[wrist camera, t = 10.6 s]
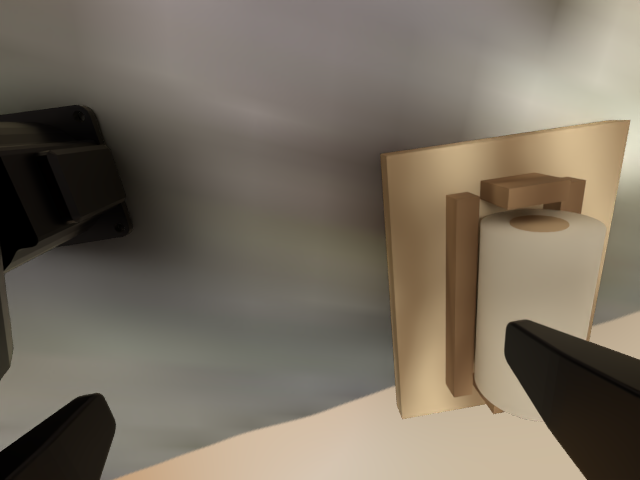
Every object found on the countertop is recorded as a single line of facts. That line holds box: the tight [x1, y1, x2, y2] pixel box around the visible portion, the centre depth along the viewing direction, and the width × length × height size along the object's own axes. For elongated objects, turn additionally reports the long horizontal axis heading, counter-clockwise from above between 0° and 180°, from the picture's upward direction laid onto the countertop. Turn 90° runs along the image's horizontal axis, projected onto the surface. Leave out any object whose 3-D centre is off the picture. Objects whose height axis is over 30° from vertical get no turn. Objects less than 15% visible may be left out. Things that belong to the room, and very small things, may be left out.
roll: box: [474, 209, 606, 422], centre depth 17 cm, size 10×5×5 cm, turn 8°
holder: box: [380, 120, 630, 419], centre depth 19 cm, size 13×18×4 cm
